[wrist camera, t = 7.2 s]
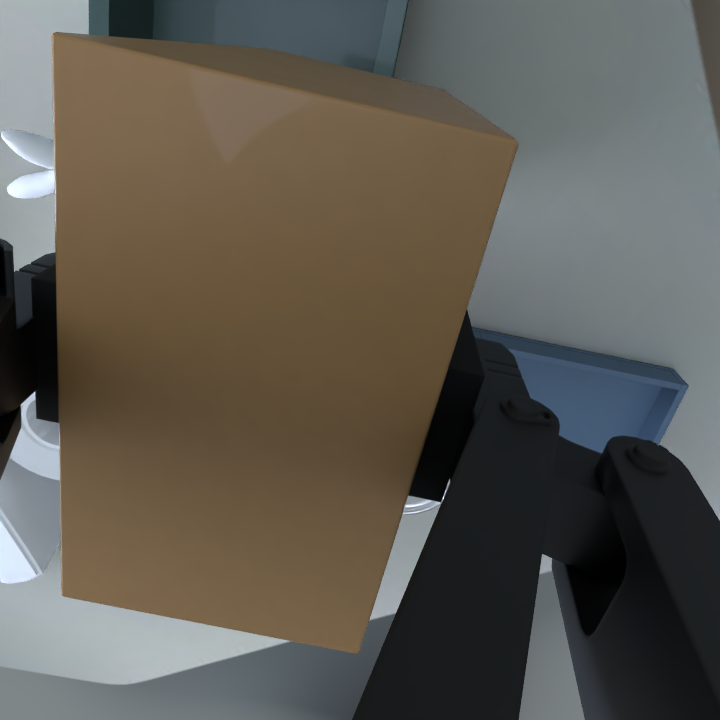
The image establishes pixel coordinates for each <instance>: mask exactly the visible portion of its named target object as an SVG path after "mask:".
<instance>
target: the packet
mask: <svg viewBox="0 0 720 720" xmlns="http://www.w3.org/2000/svg"><path fill="white" fill-rule="evenodd" d="M52 76H53V133H54V189H55V246H56V302H57V359H58V415H59V472H60V528H61V585H62V596H64V597H69V598H74V599H79V600H84V601H89V602H94V603H99V604H104V605H110V606H115V607H120V608H125V609H130V610H135V611H140V612H145V613H151V614H156V615H161V616H166V617H171V618H176V619H181V620H187V621H192V622H197V623H202V624H207V625H212V626H217V627H222V628H228V629H233V630H238V631H243V632H248V633H253V634H258V635H263V636H269V637H274V638H279V639H284V640H289V641H294V642H299V643H304V644H310V645H315V646H320V647H325V648H330V649H335V650H340V651H346V652H351V653H358V652H359V651H360V648H361V645H362V641H363V638H364V635H365V632H366V629H367V625H368V622H369V619H370V616H371V613H372V610H373V606H374V603H375V600H376V597H377V594H378V590H379V587H380V584H381V581H382V578H383V575H384V571H385V568H386V565H387V562H388V559H389V555H390V552H391V549H392V546H393V543H394V539H395V536H396V533H397V530H398V527H399V523H400V520H401V517H402V514H403V511H404V508H405V504H406V501H407V498H408V495H409V492H410V488H411V485H412V482H413V479H414V476H415V472H416V469H417V466H418V463H419V460H420V457H421V453H422V450H423V447H424V444H425V441H426V437H427V434H428V431H429V428H430V425H431V421H432V418H433V415H434V412H435V409H436V406H437V402H438V399H439V396H440V393H441V390H442V386H443V383H444V380H445V377H446V374H447V370H448V367H449V364H450V361H451V358H452V354H453V351H454V348H455V345H456V342H457V339H458V335H459V332H460V329H461V326H462V323H463V319H464V316H465V313H466V310H467V307H468V303H469V300H470V297H471V294H472V291H473V288H474V284H475V281H476V278H477V275H478V272H479V268H480V265H481V262H482V259H483V256H484V252H485V249H486V246H487V243H488V240H489V237H490V233H491V230H492V227H493V224H494V221H495V217H496V214H497V211H498V208H499V205H500V201H501V198H502V195H503V192H504V189H505V185H506V182H507V179H508V176H509V173H510V170H511V166H512V163H513V160H514V157H515V154H516V150H517V147H518V141H517V140H516V139H514V138H513V137H511V136H510V135H508V134H507V133H506V132H504V131H503V130H501V129H500V128H498V127H497V126H495V125H494V124H493V123H491V122H490V121H488V120H487V119H485V118H484V117H482V116H481V115H480V114H478V113H477V112H475V111H474V110H472V109H471V108H470V107H468V106H467V105H465V104H464V103H462V102H461V101H459V100H458V99H457V98H455V97H454V96H452V95H451V94H449V93H448V92H446V91H445V90H443V89H439V88H435V87H430V86H426V85H422V84H418V83H413V82H409V81H405V80H401V79H396V78H392V77H388V76H384V75H379V74H375V73H371V72H367V71H362V70H358V69H354V68H350V67H345V66H341V65H337V64H333V63H329V62H324V61H320V60H316V59H312V58H307V57H303V56H299V55H295V54H290V53H286V52H282V51H278V50H273V49H267V48H254V47H241V46H229V45H216V44H203V43H190V42H177V41H164V40H151V39H138V38H126V37H113V36H100V35H87V34H74V33H61V32H56V33H53V34H52Z"/></svg>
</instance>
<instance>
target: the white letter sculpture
mask: <svg viewBox="0 0 720 720" xmlns="http://www.w3.org/2000/svg"><path fill="white" fill-rule="evenodd" d="M60 542H61V528H60V472H59V423H55V422H50V421H45V420H40V419H36V400H35V392H34V393H33V394H32V395H31V396H30V397H29V398H27V399H26V400H25V401H24V402H23V403H22V404H21V429H20V432H19V434H18V437H17V440H16V442H15V445H14V447H13V450H12V452H11V455H10V457H9V460H8V462H7V465H6V467H5V470H4V472H3V475H2V477H1V480H0V580H1V582H2V583H18V582H25V581H29V580H32V579H35V578H37V577H38V576H40V575H41V574H43V573H44V571H45V569H46V567H47V565H48V563H49V562H50V560H51V558H52V556H53V554H54V553H55V551H56V549H57V547H58V545H59V544H60Z"/></svg>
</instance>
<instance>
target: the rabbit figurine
mask: <svg viewBox="0 0 720 720" xmlns="http://www.w3.org/2000/svg"><path fill="white" fill-rule="evenodd" d="M1 137H2V138H3V140H4V141H5V142H6V143H7V144H8V146H9V147H10V148H11V149H12V150H14V151H15V152H16V153H17V154H18V155H20V156H21V157H23V158H24V159H26V160H28V161H30V162H32V163H34V164H36V165H39V166H42V167H45V168H48V169H52V170H49V171H42V172H37V173H31V174H27V175H24V176H21V177H19V178H17V179H16V180H14V181H13V182H11V184H10V185H8V187H7V191H8V193H9V194H10V195H12V196H14V197H18V198H39V197H43V196H47V195H49V194H51V193H54V192H55V189H54V141H52V140H50V139H47V138H44V137H41V136H39V135H36V134H33V133H30V132H26V131H21V130H4V131H3V132H2V133H1Z"/></svg>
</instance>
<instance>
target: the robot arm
mask: <svg viewBox="0 0 720 720" xmlns="http://www.w3.org/2000/svg"><path fill="white" fill-rule="evenodd" d="M34 392H35V400H36V419H40V420H45V421H50V422H55V423H59V415H58V359H57V302H56V252H55V253H51V254H46V255H44V256H42V257H40V258H38V259H37V260H35V261H33V262H31V265H30V264H28V265H26V266H24V267H22V268H20V269H19V271H15V272H14V262H13V246H12V245H11V244H9V243H8V242H7V241H5V240H2V239H0V480H1V477H2V475H3V472H4V470H5V467H6V465H7V462H8V460H9V457H10V455H11V452H12V450H13V447H14V445H15V442H16V440H17V437H18V434H19V432H20V429H21V404H22V403H23V402H24V401H25V400H26V399H27V398H29V397H30V396H31V395H32V394H33V393H34ZM559 430H560V424H559V420H558V417H557V416H556V415H555V414H554V413H553V412H552V411H551V410H550V409H549V408H547V407H546V406H545V405H543V404H542V403H540V402H538V401H536V400H534V399H531V398H530V395H529V393H528V390H527V388H526V385H525V382H524V380H523V378H522V375H521V372H520V369H518V364H517V362H516V359H515V357H514V355H513V354H512V353H511V352H510V351H509V350H508V349H507V348H506V347H505V346H504V345H503V344H502V343H499V342H495V341H490V340H485V339H481V338H476V337H474V334H473V330H472V326H471V322H470V319H469V315H468V311H467V310H466V313H465V316H464V319H463V323H462V326H461V329H460V332H459V335H458V339H457V342H456V345H455V348H454V351H453V354H452V358H451V361H450V364H449V367H448V370H447V374H446V377H445V380H444V383H443V386H442V390H441V393H440V396H439V399H438V402H437V406H436V409H435V412H434V415H433V418H432V421H431V425H430V428H429V431H428V434H427V437H426V441H425V444H424V447H423V450H422V453H421V457H420V460H419V463H418V466H417V469H416V472H415V476H414V479H413V482H412V485H411V488H410V492H409V495H408V496H413V497H417V498H422V499H427V500H432V501H437V502H442V504H441V506H440V508H439V511H438V513H437V516H436V518H435V520H434V523H433V525H432V528H431V530H430V533H429V535H428V537H427V540H426V542H425V545H424V547H423V549H422V552H421V554H420V557H419V559H418V562H417V564H416V566H415V569H414V571H413V574H412V576H411V579H410V581H409V583H408V586H407V588H406V591H405V593H404V595H403V598H402V600H401V603H400V605H399V608H398V610H397V612H396V615H395V617H394V620H393V622H392V625H391V627H390V629H389V632H388V634H387V637H386V639H385V642H384V644H383V646H382V649H381V651H380V654H379V656H378V658H377V661H376V663H375V666H374V668H373V671H372V673H371V675H370V678H369V680H368V683H367V685H366V687H365V690H364V692H363V695H362V697H361V700H360V702H359V704H358V707H357V709H356V712H355V714H354V717H353V719H352V720H518V719H519V712H520V706H521V698H522V691H523V684H524V677H525V670H526V663H527V656H528V648H529V642H530V635H531V628H532V620H533V614H534V607H535V599H536V593H537V585H538V578H539V571H540V564H541V557H542V554H544V555H546V556H549V557H551V558H552V571H553V575H554V579H555V584H556V589H557V594H558V598H559V603H560V607H561V612H562V616H563V621H564V625H565V630H566V635H567V639H568V644H569V648H570V653H571V658H572V662H573V667H574V671H575V676H576V681H577V685H578V690H579V695H580V698H581V704H582V708H583V712H584V717H585V720H720V521H719V519H718V517H717V516H716V514H715V513H714V511H713V509H712V508H711V506H710V504H709V503H708V501H707V499H706V498H705V496H704V495H703V493H702V491H701V490H700V488H699V486H698V485H697V483H696V481H695V480H694V478H693V477H692V475H691V473H690V472H689V470H688V469H687V468H686V466H685V465H684V464H683V463H682V462H681V461H680V460H679V459H678V458H677V457H675V456H674V455H673V454H671V453H670V452H669V451H668V450H667V449H666V448H664V447H662V446H661V445H659V446H658V445H657V443H654V442H652V441H650V440H643V439H640V438H637V437H630V436H624V435H622V436H615V437H612V438H611V439H610V440H609V441H608V442H607V444H606V446H605V448H604V450H603V452H602V453H599V452H596V451H594V450H591V449H589V448H586V447H584V446H581V445H578V444H576V443H574V442H572V441H569V440H567V439H565V438H563V437H562V436H560V435H559ZM449 479H450V484H449V487H448V489H447V491H446V494H445V496H444V493H445V490H446V487H447V484H448V481H449ZM443 496H444V499H443ZM442 499H443V501H442Z"/></svg>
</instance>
